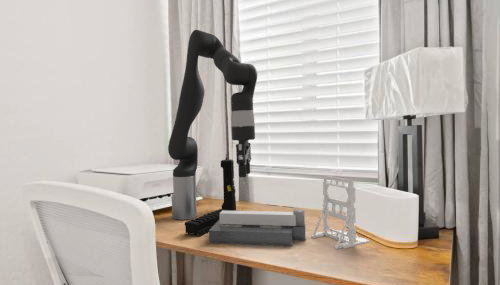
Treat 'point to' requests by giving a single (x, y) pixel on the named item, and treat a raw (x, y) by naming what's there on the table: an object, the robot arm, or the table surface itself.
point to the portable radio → (228, 185)
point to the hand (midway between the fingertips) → (244, 175)
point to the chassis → (255, 234)
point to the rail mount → (203, 223)
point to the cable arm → (263, 218)
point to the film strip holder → (340, 215)
